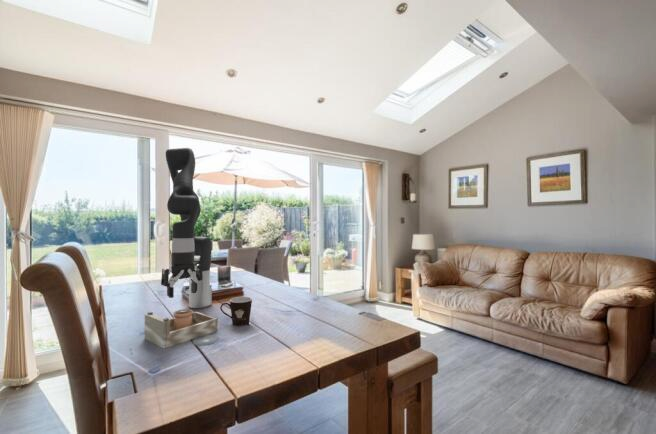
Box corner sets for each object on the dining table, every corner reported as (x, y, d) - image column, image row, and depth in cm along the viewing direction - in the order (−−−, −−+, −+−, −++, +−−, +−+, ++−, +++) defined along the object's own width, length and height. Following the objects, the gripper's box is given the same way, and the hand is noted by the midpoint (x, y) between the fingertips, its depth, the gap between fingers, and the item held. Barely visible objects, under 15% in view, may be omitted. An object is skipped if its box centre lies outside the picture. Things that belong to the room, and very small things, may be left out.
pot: (186, 329, 117) (186, 307, 117) (195, 333, 114) (196, 310, 114) (170, 334, 112) (170, 311, 112) (179, 338, 109) (179, 314, 109)
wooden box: (196, 324, 125) (196, 300, 125) (217, 331, 116) (217, 306, 116) (143, 339, 109) (144, 312, 109) (164, 350, 100) (164, 320, 100)
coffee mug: (256, 322, 127) (256, 297, 127) (243, 329, 119) (244, 303, 119) (232, 319, 131) (232, 295, 131) (218, 325, 123) (218, 300, 123)
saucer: (209, 335, 113) (209, 333, 113) (223, 341, 108) (223, 338, 108) (187, 343, 106) (187, 340, 106) (201, 349, 101) (201, 346, 101)
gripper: (195, 248, 121) (195, 290, 121) (157, 251, 109) (157, 297, 109) (206, 249, 116) (206, 293, 116) (168, 252, 105) (168, 301, 105)
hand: (182, 295), depth 113 cm, fingers open, 8 cm apart
